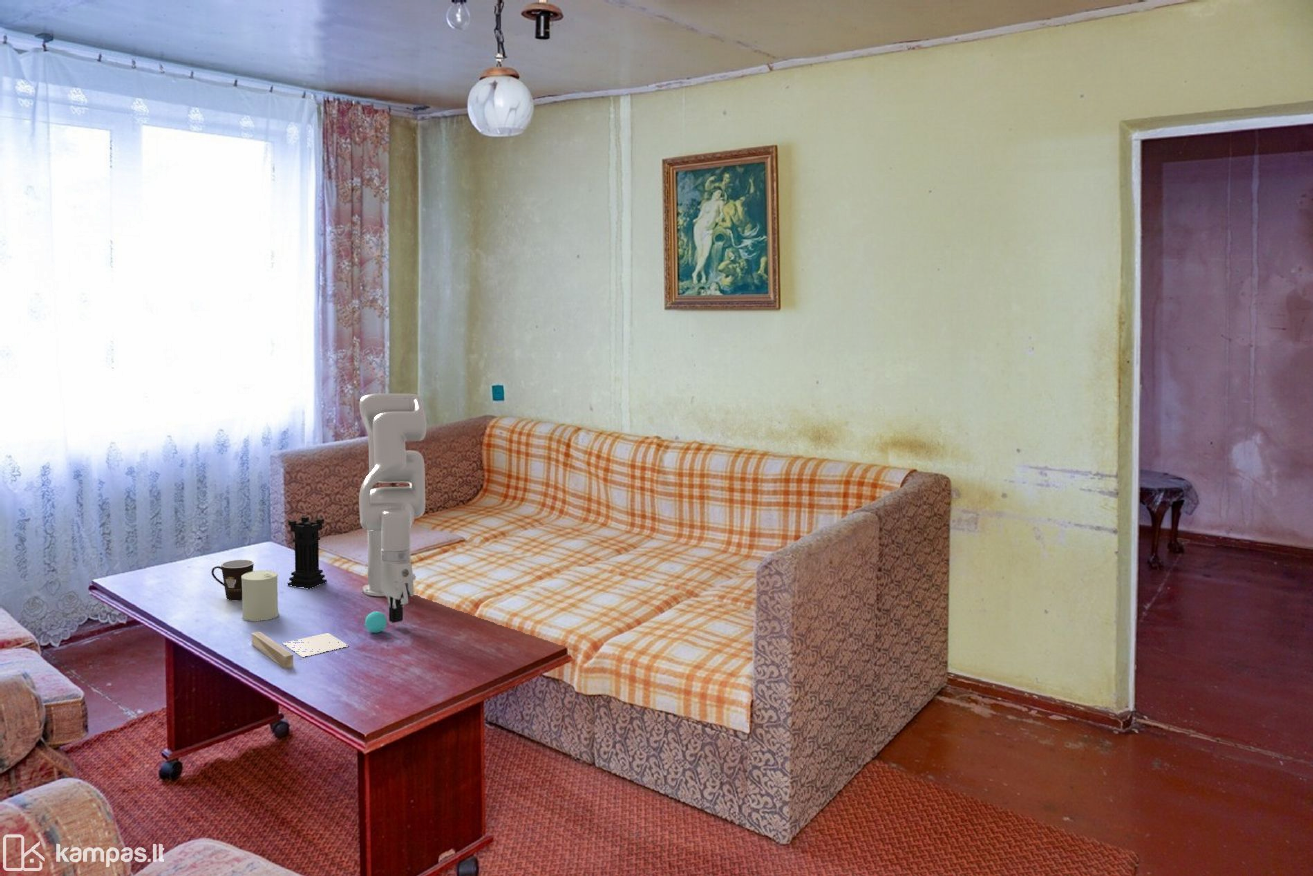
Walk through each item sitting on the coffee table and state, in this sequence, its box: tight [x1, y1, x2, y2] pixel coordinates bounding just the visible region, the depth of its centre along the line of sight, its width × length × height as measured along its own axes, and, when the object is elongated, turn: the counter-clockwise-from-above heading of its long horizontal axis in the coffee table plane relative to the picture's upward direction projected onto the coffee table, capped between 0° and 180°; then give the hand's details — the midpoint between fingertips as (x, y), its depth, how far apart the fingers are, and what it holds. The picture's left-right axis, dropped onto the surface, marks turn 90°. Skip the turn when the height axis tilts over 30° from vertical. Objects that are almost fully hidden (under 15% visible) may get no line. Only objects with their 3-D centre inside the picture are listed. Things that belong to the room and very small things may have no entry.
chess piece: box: [286, 516, 328, 590], centre depth 282 cm, size 8×8×20 cm
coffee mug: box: [211, 559, 255, 601], centre depth 269 cm, size 12×9×10 cm
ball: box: [364, 610, 387, 633], centre depth 245 cm, size 6×6×6 cm
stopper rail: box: [251, 631, 294, 670], centre depth 227 cm, size 2×20×3 cm, turn 44°
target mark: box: [281, 632, 349, 658], centre depth 235 cm, size 12×12×1 cm
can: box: [241, 570, 279, 622], centre depth 253 cm, size 9×9×12 cm
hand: (396, 621), depth 250 cm, fingers closed
